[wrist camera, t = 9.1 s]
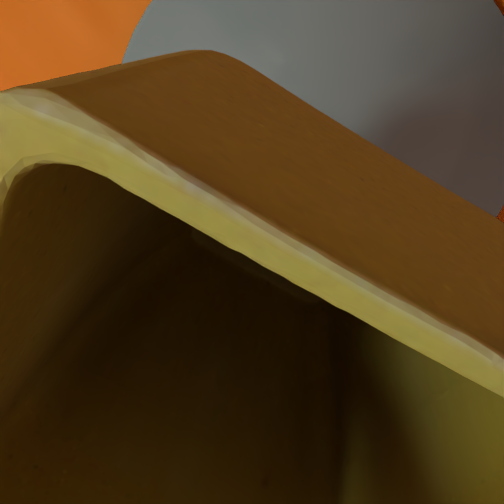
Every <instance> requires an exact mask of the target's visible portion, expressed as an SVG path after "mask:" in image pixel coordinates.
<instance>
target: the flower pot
mask: <svg viewBox="0 0 504 504" xmlns="http://www.w3.org/2000/svg"><path fill="white" fill-rule="evenodd" d="M0 504H504V223H503V222H502V221H500V220H499V219H497V218H496V217H494V216H493V215H491V214H489V213H487V212H486V211H484V210H482V209H480V208H479V207H477V206H475V205H474V204H472V203H470V202H468V201H467V200H465V199H463V198H462V197H460V196H458V195H457V194H455V193H453V192H451V191H450V190H448V189H446V188H445V187H443V186H441V185H440V184H438V183H436V182H435V181H433V180H431V179H430V178H428V177H426V176H425V175H423V174H421V173H420V172H418V171H416V170H415V169H413V168H411V167H410V166H408V165H406V164H405V163H403V162H402V161H400V160H398V159H397V158H395V157H393V156H392V155H390V154H389V153H387V152H385V151H384V150H382V149H380V148H379V147H377V146H375V145H374V144H372V143H371V142H369V141H367V140H366V139H364V138H362V137H361V136H359V135H358V134H356V133H354V132H353V131H351V130H350V129H348V128H346V127H345V126H343V125H342V124H340V123H338V122H337V121H335V120H334V119H332V118H330V117H329V116H327V115H326V114H324V113H322V112H321V111H319V110H317V109H316V108H314V107H313V106H311V105H310V104H308V103H306V102H305V101H303V100H302V99H300V98H299V97H297V96H296V95H294V94H292V93H291V92H289V91H288V90H286V89H285V88H283V87H282V86H280V85H279V84H277V83H275V82H274V81H272V80H271V79H269V78H268V77H266V76H265V75H263V74H262V73H260V72H259V71H257V70H255V69H254V68H252V67H250V66H249V65H247V64H245V63H244V62H242V61H240V60H238V59H236V58H233V57H231V56H229V55H226V54H224V53H220V52H216V51H213V50H185V51H180V52H175V53H170V54H165V55H160V56H155V57H150V58H146V59H141V60H137V61H133V62H128V63H123V64H118V65H113V66H109V67H105V68H101V69H97V70H92V71H87V72H81V73H76V74H72V75H68V76H63V77H59V78H54V79H50V80H46V81H42V82H37V83H33V84H28V85H22V86H17V87H13V88H10V89H7V90H4V91H0Z"/></svg>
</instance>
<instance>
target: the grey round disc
mask: <svg viewBox="0 0 504 504" xmlns="http://www.w3.org/2000/svg"><path fill="white" fill-rule="evenodd" d="M185 50H213V51H216V52H220V53H224V54H226V55H229V56H231V57H233V58H236V59H238V60H240V61H242V62H244V63H245V64H247V65H249V66H250V67H252V68H254V69H255V70H257V71H259V72H260V73H262V74H263V75H265V76H266V77H268V78H269V79H271V80H272V81H274V82H275V83H277V84H279V85H280V86H282V87H283V88H285V89H286V90H288V91H289V92H291V93H292V94H294V95H296V96H297V97H299V98H300V99H302V100H303V101H305V102H306V103H308V104H310V105H311V106H313V107H314V108H316V109H317V110H319V111H321V112H322V113H324V114H326V115H327V116H329V117H330V118H332V119H334V120H335V121H337V122H338V123H340V124H342V125H343V126H345V127H346V128H348V129H350V130H351V131H353V132H354V133H356V134H358V135H359V136H361V137H362V138H364V139H366V140H367V141H369V142H371V143H372V144H374V145H375V146H377V147H379V148H380V149H382V150H384V151H385V152H387V153H389V154H390V155H392V156H393V157H395V158H397V159H398V160H400V161H402V162H403V163H405V164H406V165H408V166H410V167H411V168H413V169H415V170H416V171H418V172H420V173H421V174H423V175H425V176H426V177H428V178H430V179H431V180H433V181H435V182H436V183H438V184H440V185H441V186H443V187H445V188H446V189H448V190H450V191H451V192H453V193H455V194H457V195H458V196H460V197H462V198H463V199H465V200H467V201H468V202H470V203H472V204H474V205H475V206H477V207H479V208H480V209H482V210H484V211H486V212H487V213H489V214H491V215H493V216H494V217H497V215H498V214H499V213H500V211H501V209H502V207H503V205H504V16H503V14H502V13H501V11H500V10H499V8H498V7H497V5H496V4H495V2H494V0H153V1H152V2H151V3H150V4H149V6H148V7H147V9H146V10H145V12H144V14H143V16H142V18H141V19H140V21H139V23H138V25H137V26H136V28H135V30H134V32H133V34H132V37H131V39H130V42H129V44H128V47H127V49H126V52H125V54H124V57H123V61H122V64H123V63H128V62H133V61H137V60H141V59H146V58H150V57H155V56H160V55H165V54H170V53H175V52H180V51H185Z"/></svg>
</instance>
